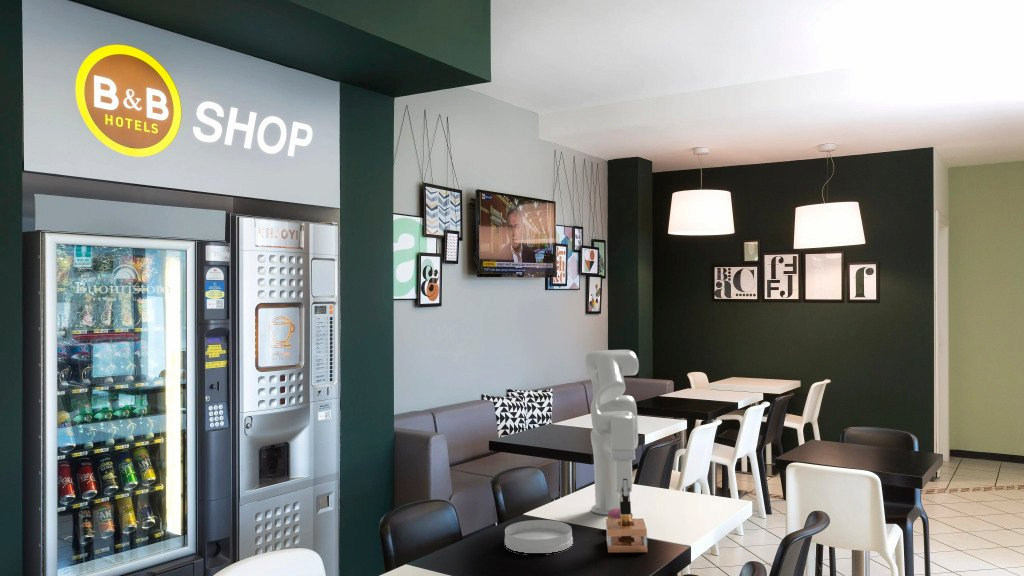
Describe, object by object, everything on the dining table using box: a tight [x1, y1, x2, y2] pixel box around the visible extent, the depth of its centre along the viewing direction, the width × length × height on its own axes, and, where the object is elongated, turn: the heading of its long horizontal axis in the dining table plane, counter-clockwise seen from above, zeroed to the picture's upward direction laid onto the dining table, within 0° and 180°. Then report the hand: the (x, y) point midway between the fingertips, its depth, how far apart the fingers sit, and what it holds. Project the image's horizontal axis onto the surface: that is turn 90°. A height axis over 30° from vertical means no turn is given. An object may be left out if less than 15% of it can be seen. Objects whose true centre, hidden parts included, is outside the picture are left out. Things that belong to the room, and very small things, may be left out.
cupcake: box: [606, 508, 634, 519], centre depth 260 cm, size 9×8×12 cm
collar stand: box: [605, 518, 648, 553], centre depth 242 cm, size 12×12×7 cm
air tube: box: [619, 490, 631, 540], centre depth 242 cm, size 3×3×18 cm
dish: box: [504, 519, 574, 553], centre depth 247 cm, size 22×22×5 cm
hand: (625, 511), depth 242 cm, fingers closed on air tube, 3 cm apart
